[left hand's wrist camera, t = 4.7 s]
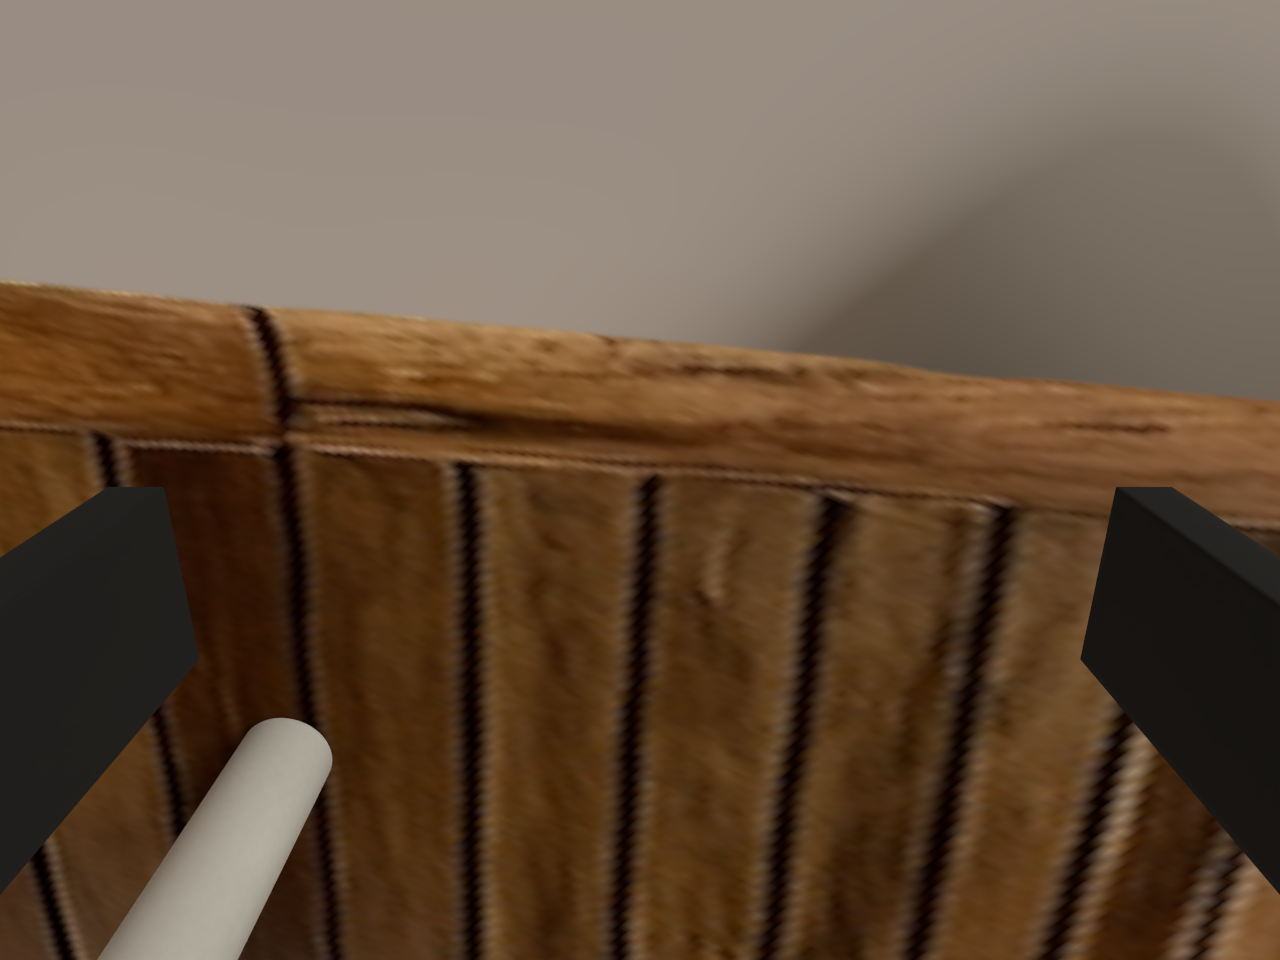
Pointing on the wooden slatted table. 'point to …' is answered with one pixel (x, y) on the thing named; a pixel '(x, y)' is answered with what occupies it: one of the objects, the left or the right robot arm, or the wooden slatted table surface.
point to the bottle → (229, 850)
